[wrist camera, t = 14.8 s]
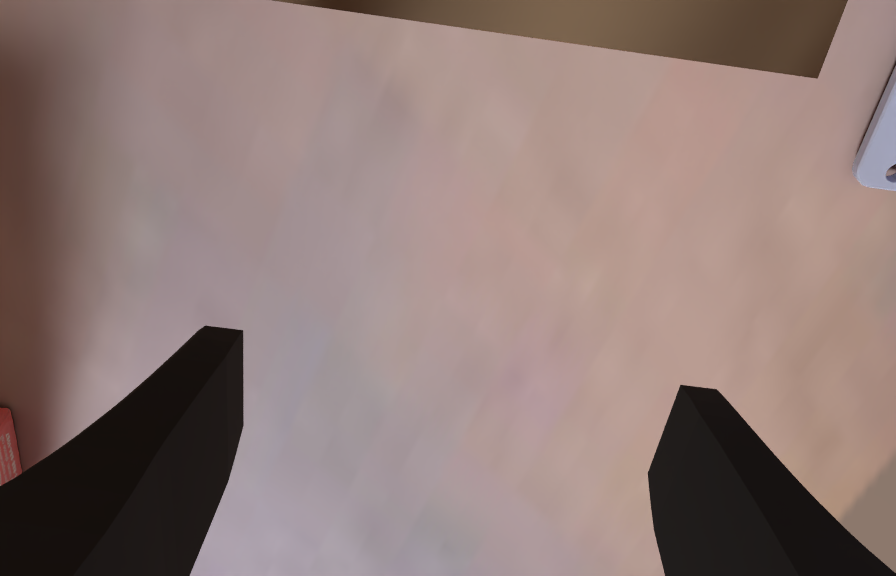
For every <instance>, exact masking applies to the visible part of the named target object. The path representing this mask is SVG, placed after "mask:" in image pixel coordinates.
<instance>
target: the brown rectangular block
mask: <svg viewBox="0 0 896 576" xmlns="http://www.w3.org/2000/svg"><path fill="white" fill-rule="evenodd" d="M273 1H280V2H287V3H294V4H301V5H308V6H315V7H322V8H329V9H336V10H343V11H350V12H357V13H364V14H371V15H378V16H385V17H392V18H399V19H406V20H413V21H420V22H427V23H434V24H440V25H447V26H454V27H461V28H468V29H475V30H482V31H489V32H496V33H503V34H510V35H517V36H524V37H531V38H538V39H545V40H552V41H559V42H566V43H573V44H580V45H587V46H594V47H601V48H608V49H615V50H622V51H629V52H636V53H643V54H650V55H657V56H664V57H671V58H678V59H685V60H692V61H699V62H706V63H713V64H720V65H727V66H734V67H741V68H748V69H755V70H762V71H769V72H776V73H783V74H790V75H797V76H804V77H811V78H818V76H819V73H820V71H821V68H822V66H823V63H824V60H825V58H826V55H827V53H828V50H829V47H830V45H831V42H832V40H833V37H834V34H835V32H836V29H837V27H838V24H839V22H840V19H841V16H842V14H843V11H844V9H845V6H846V3H847V1H848V0H273Z"/></svg>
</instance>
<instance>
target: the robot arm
mask: <svg viewBox="0 0 896 576" xmlns="http://www.w3.org/2000/svg"><path fill="white" fill-rule="evenodd" d="M895 164H896V66H895V68H894V71H893V73H892V75H891V77H890V80H889V82H888V84H887V87H886V89H885V91H884V93H883V96H882V98H881V100H880V103H879V105H878V107H877V110H876V112H875V114H874V116H873V119H872V121H871V123H870V126H869V128H868V130H867V132H866V135H865V137H864V139H863V142H862V144H861V146H860V149H859V151H858V153H857V155H856V158H855V160H854V162H853V167H852V171H853V175H854V177H855V178H856V179H857V180H858V181H859V182H860V183H861V184H862V185H864V186H867V187H871V188H878V189H885V190H893V191H896V173H895V174H893V175H891V176H886V171H887V170H888V169H889V168H890V167H891V166H893V165H895ZM242 429H243V330H236V329H228V328H220V327H211V326H204V327H203V328H201V329H200V330H199V331H197V332H196V333H195V334H194V335H193V336H192V337H191V338H190V339H189V340H188V341H187V342H186V343H185V344H184V345H183V346H182V347H181V348H180V349H179V350H178V351H177V352H175V353H174V354H173V355H172V356H171V357H170V358H169V359H168V360H167V361H166V362H165V363H164V364H163V365H161V366H160V367H159V368H158V369H157V370H156V371H155V372H154V373H153V374H152V375H151V376H149V377H148V378H147V379H146V380H145V381H144V382H142V383H141V384H140V385H139V386H138V387H137V388H136V389H134V390H133V391H132V392H131V393H130V394H129V395H127V396H126V397H125V398H124V399H123V400H122V401H120V402H119V403H118V404H117V405H116V406H114V407H113V408H112V409H111V410H109V411H108V412H107V413H106V414H104V415H103V416H102V417H100V418H99V419H98V420H97V421H95V422H94V423H93V424H91V425H90V426H89V427H88V428H86V429H85V430H84V431H82V432H81V433H80V434H79V435H77V436H76V437H75V438H73V439H72V440H70V441H69V442H68V443H66V444H65V445H63V446H62V447H61V448H59V449H58V450H56V451H55V452H53V453H52V454H50V455H49V456H48V457H46V458H45V459H43V460H42V461H40V462H39V463H37V464H35V465H34V466H32V467H31V468H29V469H28V470H26V471H25V472H23V473H22V474H20V475H18V476H17V477H15V478H13V479H12V480H10V481H8V482H7V483H5V484H3V485H1V486H0V576H190V573H191V571H192V568H193V566H194V563H195V561H196V559H197V556H198V554H199V551H200V549H201V547H202V544H203V542H204V539H205V537H206V534H207V532H208V530H209V527H210V525H211V522H212V520H213V517H214V515H215V513H216V510H217V508H218V505H219V503H220V500H221V498H222V495H223V493H224V490H225V488H226V485H227V483H228V480H229V477H230V473H231V470H232V466H233V462H234V459H235V455H236V452H237V448H238V444H239V440H240V436H241V433H242ZM648 481H649V491H650V501H651V510H652V517H653V525H654V531H655V536H656V540H657V544H658V548H659V552H660V556H661V560H662V564H663V569H664V573H665V576H896V573H894V572H893V571H892V570H891V569H890V568H889V567H888V566H886V565H885V564H884V563H883V562H882V561H881V560H879V559H878V558H877V557H876V556H875V555H874V554H872V553H871V552H870V551H869V550H868V549H867V548H866V547H864V546H863V545H862V544H861V543H860V542H859V541H858V540H857V539H856V538H855V537H854V536H852V535H851V534H850V533H849V532H848V531H847V530H846V529H845V528H844V527H843V526H842V525H841V524H840V523H839V522H838V521H837V520H836V519H835V518H834V517H833V516H832V515H831V514H830V513H829V512H828V511H827V510H826V509H825V508H824V507H823V506H822V505H821V504H820V503H819V502H818V501H817V500H816V499H815V498H814V497H813V496H812V495H811V494H810V493H809V492H808V491H807V490H806V488H805V487H804V486H803V485H802V484H801V483H800V482H799V481H798V480H797V479H796V478H795V477H794V476H793V475H792V473H791V472H790V471H789V470H788V469H787V468H786V467H785V466H784V465H783V464H782V462H781V461H780V460H779V459H778V458H777V457H776V456H775V455H774V453H773V452H772V451H771V450H770V449H769V448H768V447H767V446H766V444H765V443H764V442H763V441H762V440H761V439H760V438H759V436H758V435H757V434H756V433H755V432H754V431H753V430H752V428H751V427H750V426H749V425H748V424H747V423H746V421H745V420H744V419H743V418H742V417H741V416H740V415H739V413H738V412H737V411H736V410H735V409H734V408H733V407H732V405H731V404H730V403H729V402H728V401H727V400H726V399H725V398H724V397H723V395H722V394H721V393H720V392H719V391H718V390H717V389H709V388H701V387H693V386H685V385H680V388H679V391H678V393H677V396H676V399H675V401H674V404H673V407H672V409H671V412H670V415H669V418H668V420H667V423H666V426H665V428H664V431H663V434H662V436H661V439H660V442H659V445H658V447H657V450H656V453H655V455H654V458H653V461H652V463H651V466H650V469H649V471H648Z"/></svg>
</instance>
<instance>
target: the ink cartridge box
mask: <svg viewBox="0 0 896 576" xmlns="http://www.w3.org/2000/svg"><path fill="white" fill-rule="evenodd" d="M20 474H22V469H21V465H20V457H19V451H18V446H17V439H16V435H15V430H14V424H13V419H12V416H11V411H10V409H8V408H0V486H1V485H3V484H5V483H7V482H8V481H10V480H12V479H13V478H15V477H17V476H18V475H20Z"/></svg>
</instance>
